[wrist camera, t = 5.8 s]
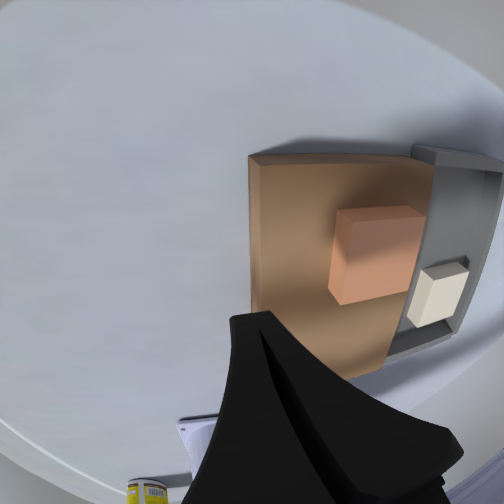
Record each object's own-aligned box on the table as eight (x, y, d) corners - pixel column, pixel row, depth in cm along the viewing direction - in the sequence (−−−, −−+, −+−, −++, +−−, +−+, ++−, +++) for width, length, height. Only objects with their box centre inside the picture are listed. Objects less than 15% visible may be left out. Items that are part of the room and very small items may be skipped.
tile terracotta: (393, 275, 17) (407, 290, 16) (327, 287, 16) (340, 305, 15) (407, 205, 15) (426, 216, 14) (337, 209, 14) (352, 222, 13)
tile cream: (417, 327, 21) (406, 316, 23) (452, 315, 22) (442, 305, 23) (433, 280, 19) (421, 269, 21) (469, 271, 20) (457, 261, 21)
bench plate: (367, 348, 24) (381, 369, 22) (252, 375, 22) (260, 400, 20) (408, 156, 16) (435, 166, 14) (247, 155, 15) (259, 165, 12)
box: (442, 322, 26) (455, 336, 24) (371, 346, 24) (383, 363, 22) (488, 155, 18) (509, 163, 16) (413, 144, 16) (436, 152, 14)
